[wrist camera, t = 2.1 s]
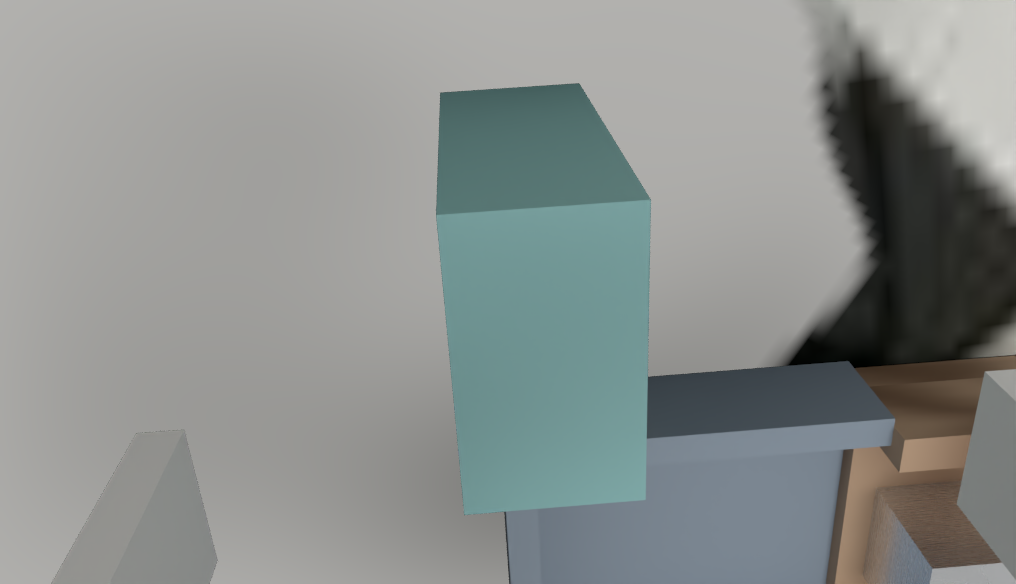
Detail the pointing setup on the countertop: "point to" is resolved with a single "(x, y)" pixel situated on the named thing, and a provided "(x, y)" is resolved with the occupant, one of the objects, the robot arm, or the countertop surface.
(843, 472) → the channel
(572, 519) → the tray
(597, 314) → the upright teal block
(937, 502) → the grey cube
